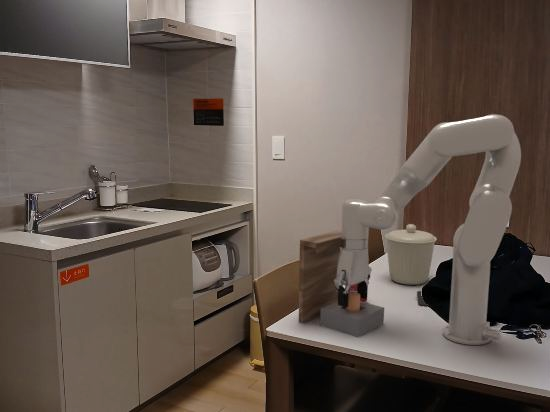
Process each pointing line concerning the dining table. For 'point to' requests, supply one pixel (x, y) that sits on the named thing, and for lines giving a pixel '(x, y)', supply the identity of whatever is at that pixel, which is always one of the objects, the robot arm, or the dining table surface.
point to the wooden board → (318, 273)
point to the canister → (410, 255)
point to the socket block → (352, 318)
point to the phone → (421, 300)
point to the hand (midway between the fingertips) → (352, 301)
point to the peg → (353, 302)
